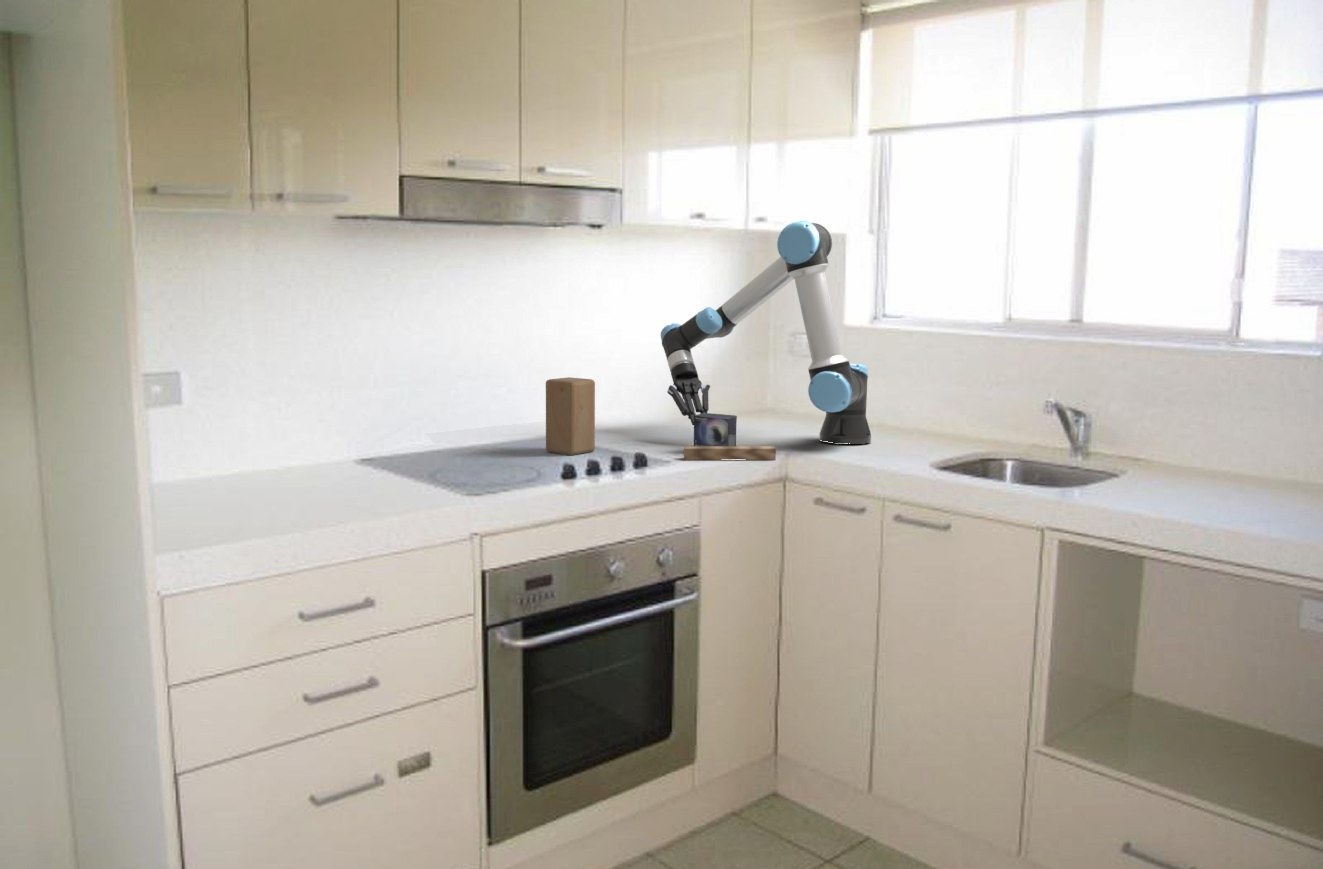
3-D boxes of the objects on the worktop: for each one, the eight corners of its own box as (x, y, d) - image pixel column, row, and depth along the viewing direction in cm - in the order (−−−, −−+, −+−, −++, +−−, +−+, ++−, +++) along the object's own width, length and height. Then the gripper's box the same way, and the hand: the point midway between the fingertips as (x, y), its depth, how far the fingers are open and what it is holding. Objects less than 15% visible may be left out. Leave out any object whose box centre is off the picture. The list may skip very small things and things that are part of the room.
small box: (692, 452, 303) (692, 415, 302) (702, 449, 309) (702, 412, 308) (727, 456, 298) (727, 417, 297) (736, 452, 304) (737, 415, 303)
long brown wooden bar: (773, 459, 296) (773, 446, 296) (775, 461, 292) (775, 448, 292) (683, 459, 295) (684, 446, 294) (685, 461, 291) (685, 448, 290)
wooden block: (571, 456, 295) (571, 381, 292) (544, 452, 301) (544, 379, 298) (596, 451, 303) (596, 379, 300) (569, 448, 309) (569, 376, 306)
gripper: (700, 377, 331) (719, 440, 317) (659, 377, 326) (676, 442, 313) (706, 360, 325) (727, 424, 312) (664, 361, 321) (683, 425, 307)
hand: (701, 433), depth 312 cm, fingers closed
